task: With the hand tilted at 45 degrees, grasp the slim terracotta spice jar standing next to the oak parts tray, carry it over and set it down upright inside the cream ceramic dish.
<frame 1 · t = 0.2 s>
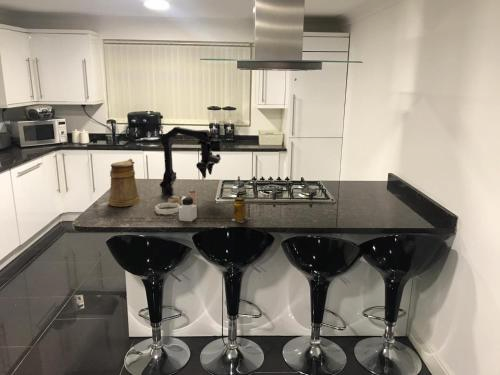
hand: (207, 176, 262), 14 cm above the worktop, tool pointing down, fingers open, 9 cm apart
condiment: (241, 219, 229), on the worktop
spice jar: (193, 208, 247), on the worktop
medicine bottle: (188, 219, 229), on the worktop
dish: (168, 211, 242), on the worktop
parts tray: (178, 202, 258), on the worktop
pebble a: (174, 200, 259), point 1 cm above the worktop, touching parts tray
pebble b: (178, 201, 257), point 1 cm above the worktop, touching parts tray
tankard: (126, 202, 260), on the worktop
pebble c: (183, 200, 259), point 1 cm above the worktop, touching parts tray
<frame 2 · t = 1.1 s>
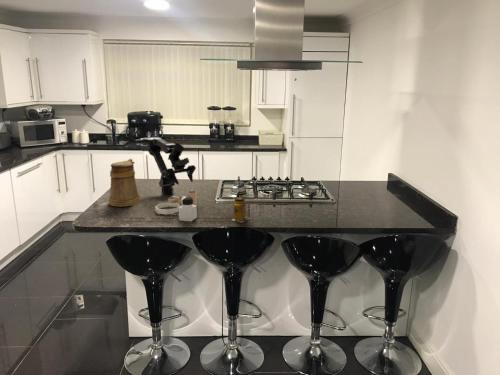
hand: (185, 183, 250), 13 cm above the worktop, tool tilted 45°, fingers open, 9 cm apart
nothing on the worktop moved.
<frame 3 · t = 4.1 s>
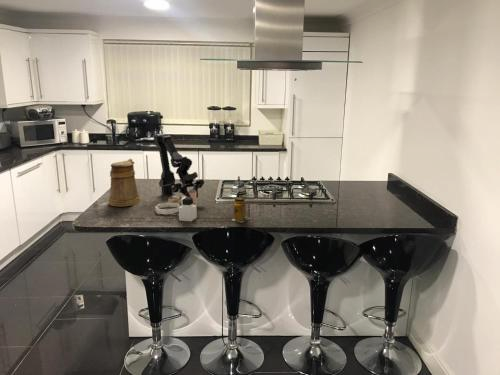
hand: (193, 198, 244), 7 cm above the worktop, tool tilted 45°, fingers closed on spice jar, 4 cm apart
spice jar: (193, 208, 247), on the worktop, touching gripper
everything else where it was.
when the fingers open (8 cm above the worktop, at t = 7.4 s): spice jar stays where it is, resting on dish.
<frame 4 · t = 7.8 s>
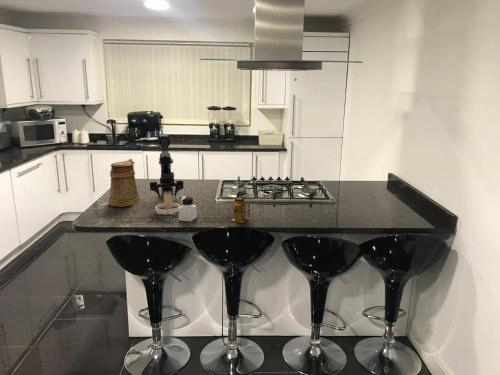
hand: (167, 198, 239), 8 cm above the worktop, tool tilted 45°, fingers open, 8 cm apart
spice jar: (168, 210, 242), point 1 cm above the worktop, touching dish
everything else where it was.
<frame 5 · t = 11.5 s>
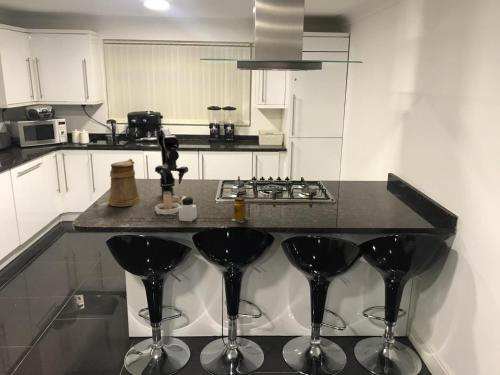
hand: (172, 183, 251), 13 cm above the worktop, tool pointing down, fingers open, 9 cm apart
nothing on the worktop moved.
at the end: spice jar 0.1 cm from the dish (horizontally); spice jar tilted 0°; the gripper is holding nothing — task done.
